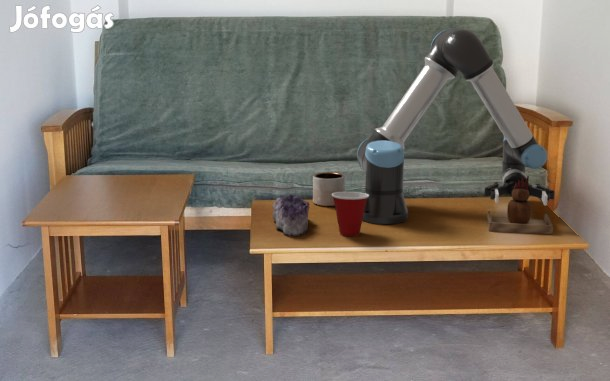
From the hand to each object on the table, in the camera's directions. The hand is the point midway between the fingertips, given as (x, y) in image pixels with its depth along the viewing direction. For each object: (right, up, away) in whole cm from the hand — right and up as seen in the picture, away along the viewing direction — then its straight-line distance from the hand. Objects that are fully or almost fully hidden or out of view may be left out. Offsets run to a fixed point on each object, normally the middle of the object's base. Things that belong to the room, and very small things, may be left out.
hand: (521, 199), depth 203 cm
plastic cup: (-50, -10, 0) cm, 51 cm away
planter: (-55, -2, +34) cm, 64 cm away
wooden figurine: (+1, -8, +5) cm, 9 cm away
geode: (-67, -9, +7) cm, 67 cm away
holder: (+1, -8, +5) cm, 10 cm away
